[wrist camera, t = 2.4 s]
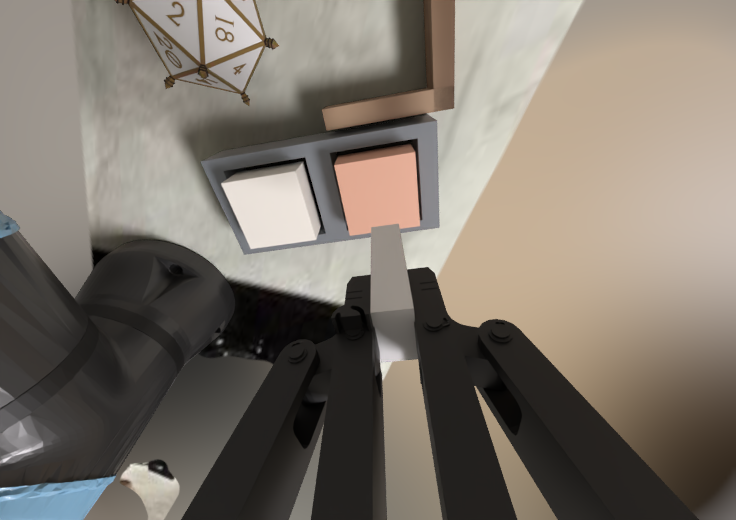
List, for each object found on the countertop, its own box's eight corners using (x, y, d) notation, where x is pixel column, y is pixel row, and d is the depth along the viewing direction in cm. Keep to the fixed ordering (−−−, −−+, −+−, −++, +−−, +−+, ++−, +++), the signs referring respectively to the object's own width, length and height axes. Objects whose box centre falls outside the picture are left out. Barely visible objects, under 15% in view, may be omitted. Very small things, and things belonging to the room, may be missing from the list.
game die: (267, 59, 25) (272, 146, 22) (151, 26, 22) (134, 124, 18) (279, -80, 18) (289, 19, 14) (103, -165, 14) (61, -60, 11)
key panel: (257, 235, 31) (244, 254, 28) (222, 150, 26) (200, 161, 23) (431, 210, 29) (439, 227, 26) (427, 114, 24) (436, 120, 21)
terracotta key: (351, 220, 27) (349, 235, 24) (338, 155, 23) (334, 165, 21) (415, 211, 26) (420, 226, 23) (410, 143, 23) (415, 151, 20)
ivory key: (261, 233, 27) (250, 249, 25) (236, 172, 24) (220, 183, 22) (321, 224, 27) (316, 240, 24) (303, 161, 24) (295, 171, 21)
